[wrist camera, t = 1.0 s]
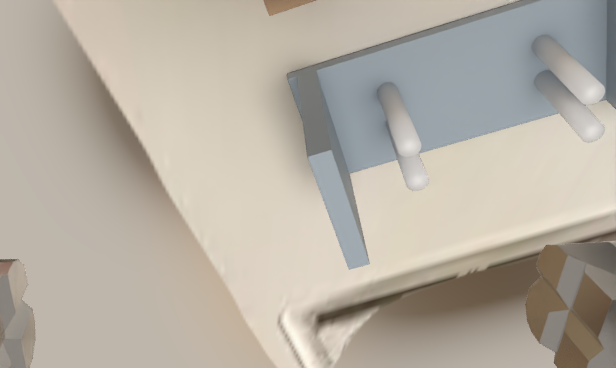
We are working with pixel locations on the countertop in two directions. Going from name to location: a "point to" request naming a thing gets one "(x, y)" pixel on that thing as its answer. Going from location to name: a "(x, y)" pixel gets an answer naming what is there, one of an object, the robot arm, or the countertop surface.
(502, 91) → the shelf stand
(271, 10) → the shelf board
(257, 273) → the countertop surface
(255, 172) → the countertop surface
